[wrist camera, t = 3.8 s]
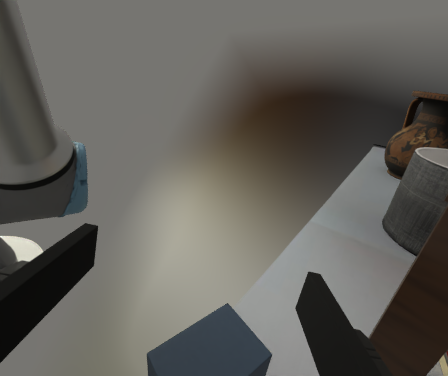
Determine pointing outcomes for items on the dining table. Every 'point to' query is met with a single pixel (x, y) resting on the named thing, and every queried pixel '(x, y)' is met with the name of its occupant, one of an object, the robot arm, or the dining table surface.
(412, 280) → the stand
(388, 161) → the vase
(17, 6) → the robot arm
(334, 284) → the dining table surface
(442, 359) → the figurine
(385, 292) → the dining table surface
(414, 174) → the planter
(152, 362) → the tall block
